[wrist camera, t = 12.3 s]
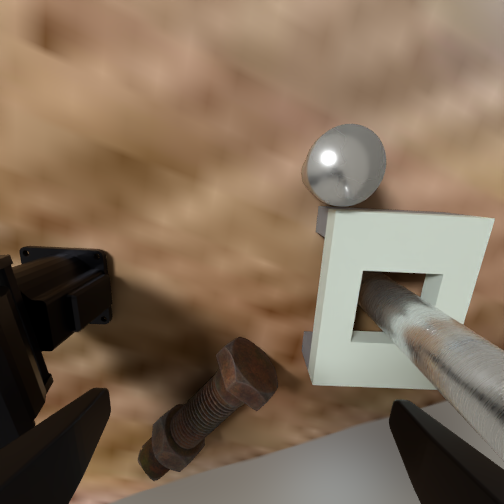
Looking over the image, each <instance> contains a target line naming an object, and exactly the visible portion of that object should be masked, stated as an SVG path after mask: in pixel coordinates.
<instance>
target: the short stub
mask: <svg viewBox="0 0 504 504" xmlns="http://www.w3.org/2000/svg"><path fill="white" fill-rule="evenodd" d="M385 169H386V154H385V150H384V147H383V144H382V142H381V141H380V139H379V138H378V136H377V135H376V134H375V133H374V132H373V131H371V130H370V129H368V128H366V127H364V126H361V125H357V124H344V125H340V126H337V127H334V128H332V129H331V130H329V131H327V132H326V133H325V134H323V135H322V136H321V137H320V138H318V139H317V141H316V142H315V143H314V144H313V145H312V147H311V149H310V150H309V152H308V155H307V158H306V160H305V162H304V163H303V166H302V170H301V177H302V181H303V183H304V185H305V186H306V188H307V189H308V190H310V191H311V192H312V193H313V195H314V196H315V197H316V198H318V199H319V200H320V201H322V202H324V203H327V204H330V205H334V206H341V207H344V206H352V205H355V204H358V203H360V202H362V201H364V200H366V199H367V198H368V197H370V196H371V195H372V194H373V193H374V192H375V190H376V189H377V188H378V186H379V185H380V183H381V181H382V179H383V176H384V173H385Z"/></svg>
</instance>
